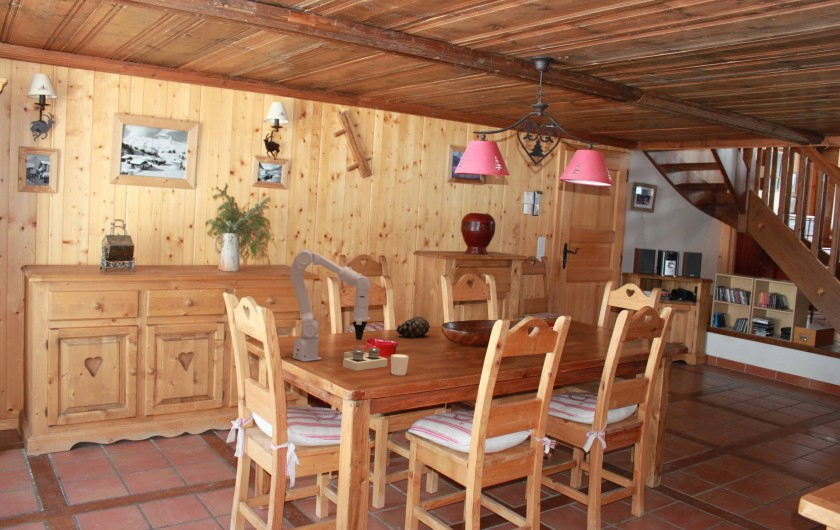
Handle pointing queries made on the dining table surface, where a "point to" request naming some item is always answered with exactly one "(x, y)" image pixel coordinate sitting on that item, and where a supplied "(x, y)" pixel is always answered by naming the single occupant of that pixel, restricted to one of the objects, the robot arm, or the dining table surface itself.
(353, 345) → the terracotta plug
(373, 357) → the metal plug
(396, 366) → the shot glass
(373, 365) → the socket block
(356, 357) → the metal plug
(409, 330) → the pine cone
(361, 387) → the dining table surface
